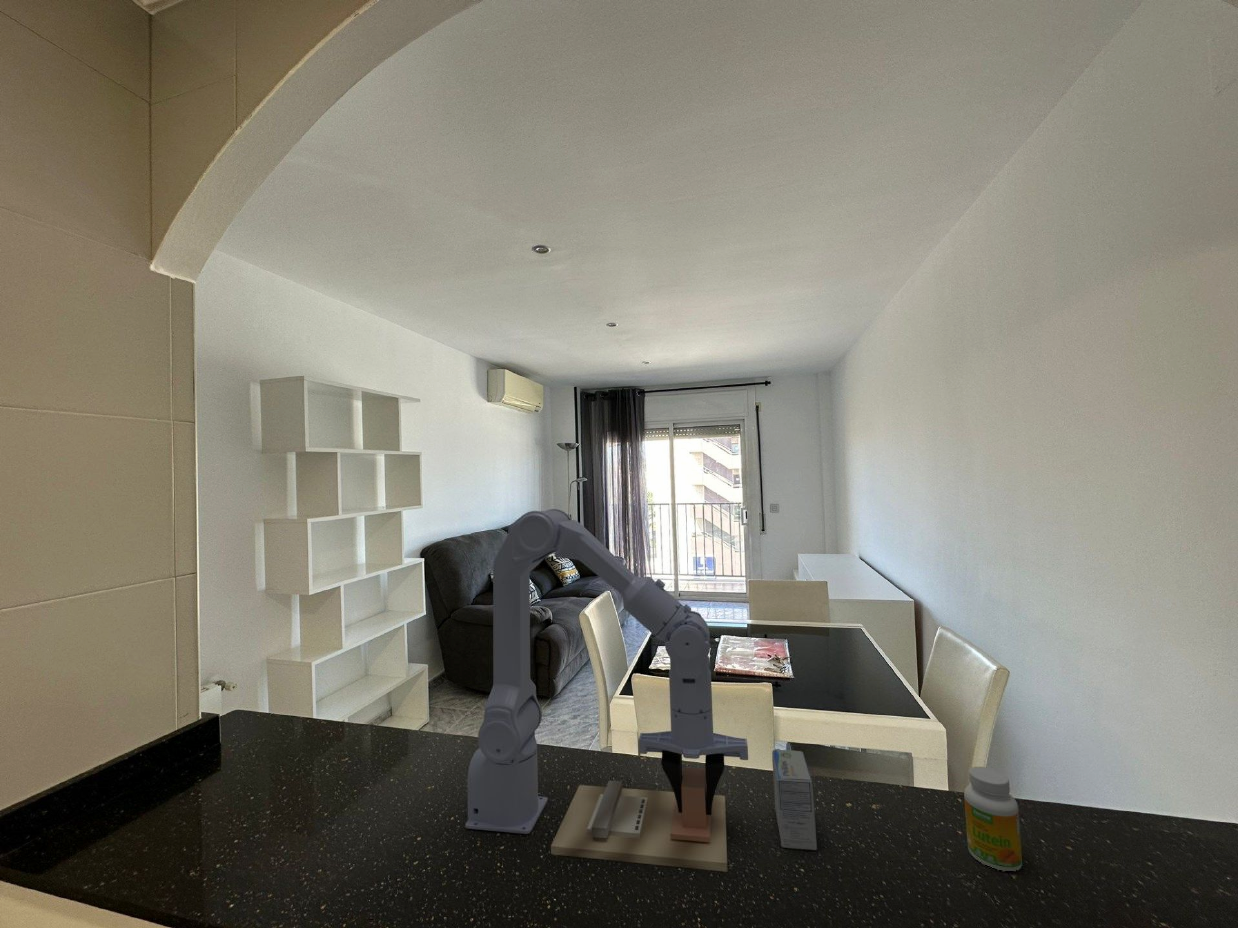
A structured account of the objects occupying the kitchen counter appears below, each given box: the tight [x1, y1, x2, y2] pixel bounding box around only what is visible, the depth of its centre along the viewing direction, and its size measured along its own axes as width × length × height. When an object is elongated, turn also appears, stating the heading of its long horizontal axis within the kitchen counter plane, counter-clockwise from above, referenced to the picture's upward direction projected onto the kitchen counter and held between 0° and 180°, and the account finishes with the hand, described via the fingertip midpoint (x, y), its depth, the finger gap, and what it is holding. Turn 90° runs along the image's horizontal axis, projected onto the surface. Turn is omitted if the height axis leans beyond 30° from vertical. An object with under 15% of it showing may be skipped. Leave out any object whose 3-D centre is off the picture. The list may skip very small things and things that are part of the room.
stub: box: [670, 766, 711, 842], centre depth 69 cm, size 5×8×6 cm, turn 169°
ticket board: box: [550, 780, 728, 873], centre depth 70 cm, size 22×14×3 cm, turn 79°
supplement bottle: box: [963, 766, 1023, 872], centre depth 63 cm, size 5×5×10 cm
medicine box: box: [771, 749, 818, 851], centre depth 69 cm, size 8×4×9 cm, turn 168°
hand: (695, 809), depth 69 cm, fingers closed on stub, 3 cm apart
